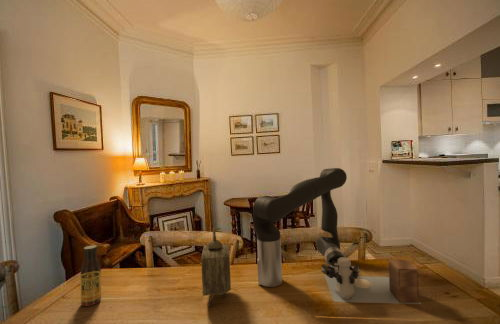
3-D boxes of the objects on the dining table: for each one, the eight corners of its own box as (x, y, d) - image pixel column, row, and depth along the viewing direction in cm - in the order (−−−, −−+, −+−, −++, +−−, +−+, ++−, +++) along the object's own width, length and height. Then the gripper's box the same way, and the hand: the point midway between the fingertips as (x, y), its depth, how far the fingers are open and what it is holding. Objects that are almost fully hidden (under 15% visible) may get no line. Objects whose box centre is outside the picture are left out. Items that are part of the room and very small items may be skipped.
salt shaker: (351, 291, 89) (350, 255, 89) (357, 301, 84) (355, 262, 83) (334, 291, 90) (333, 255, 90) (338, 300, 84) (337, 262, 84)
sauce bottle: (79, 309, 86) (76, 251, 86) (82, 300, 92) (78, 246, 91) (102, 303, 89) (98, 247, 89) (103, 295, 95) (99, 242, 94)
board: (334, 302, 84) (334, 301, 84) (324, 276, 102) (324, 275, 102) (421, 305, 81) (421, 303, 81) (396, 277, 98) (396, 276, 98)
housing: (399, 302, 82) (398, 268, 82) (389, 290, 89) (388, 259, 89) (418, 302, 81) (418, 268, 81) (407, 291, 88) (407, 259, 88)
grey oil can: (207, 288, 97) (204, 223, 96) (230, 286, 98) (227, 221, 97) (203, 311, 83) (199, 234, 82) (231, 308, 83) (228, 232, 83)
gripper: (317, 250, 102) (324, 269, 84) (353, 250, 100) (368, 270, 83) (317, 268, 102) (325, 292, 85) (354, 269, 100) (369, 293, 83)
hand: (346, 281), depth 84 cm, fingers closed on salt shaker, 3 cm apart
